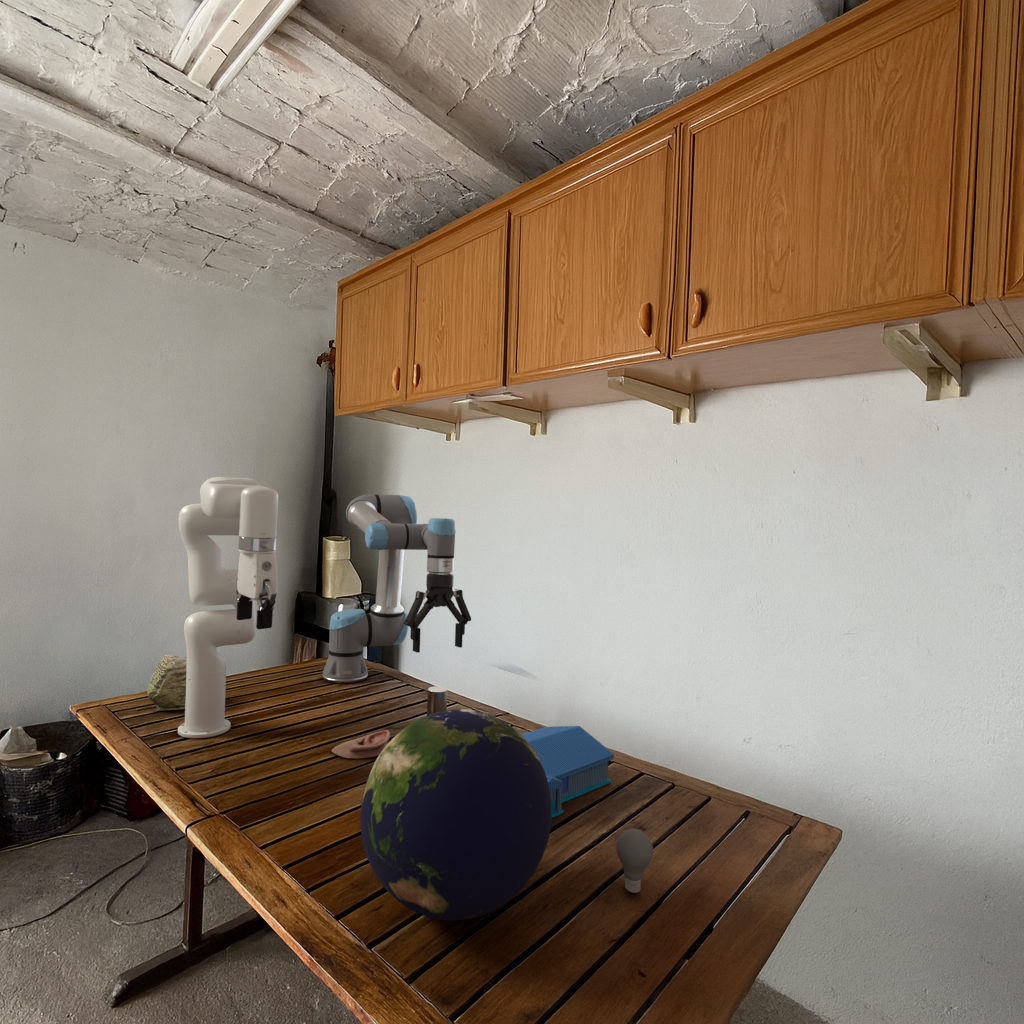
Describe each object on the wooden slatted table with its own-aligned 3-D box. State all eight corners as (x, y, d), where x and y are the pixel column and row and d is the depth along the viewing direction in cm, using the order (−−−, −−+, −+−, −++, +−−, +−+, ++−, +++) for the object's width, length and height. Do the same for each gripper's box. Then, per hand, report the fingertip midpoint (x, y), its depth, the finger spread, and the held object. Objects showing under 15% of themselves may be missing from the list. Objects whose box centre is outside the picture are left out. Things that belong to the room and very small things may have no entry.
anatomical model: (326, 739, 154) (347, 723, 165) (325, 755, 154) (346, 738, 166) (377, 746, 152) (395, 729, 163) (376, 762, 152) (394, 744, 163)
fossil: (144, 707, 182) (145, 655, 182) (212, 696, 194) (213, 647, 194) (151, 716, 175) (153, 662, 175) (221, 703, 188) (223, 653, 188)
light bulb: (610, 879, 108) (613, 822, 108) (644, 879, 109) (647, 822, 109) (619, 902, 102) (622, 840, 102) (655, 901, 103) (658, 840, 103)
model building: (492, 844, 118) (494, 791, 118) (418, 795, 136) (419, 748, 136) (622, 787, 144) (624, 743, 144) (546, 752, 162) (547, 713, 162)
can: (434, 734, 172) (435, 693, 172) (422, 728, 176) (423, 688, 175) (449, 729, 176) (451, 689, 175) (437, 724, 179) (439, 685, 179)
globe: (314, 931, 92) (322, 727, 92) (419, 834, 120) (426, 677, 120) (503, 1000, 81) (513, 769, 81) (570, 876, 109) (578, 703, 108)
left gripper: (293, 549, 133) (289, 629, 134) (256, 540, 145) (253, 614, 146) (258, 550, 128) (254, 634, 128) (223, 541, 139) (219, 618, 140)
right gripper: (406, 575, 167) (403, 656, 166) (484, 573, 182) (482, 647, 181) (393, 573, 173) (391, 651, 172) (470, 570, 188) (468, 642, 187)
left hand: (253, 623), depth 137 cm, fingers open, 9 cm apart
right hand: (437, 649), depth 177 cm, fingers open, 13 cm apart
